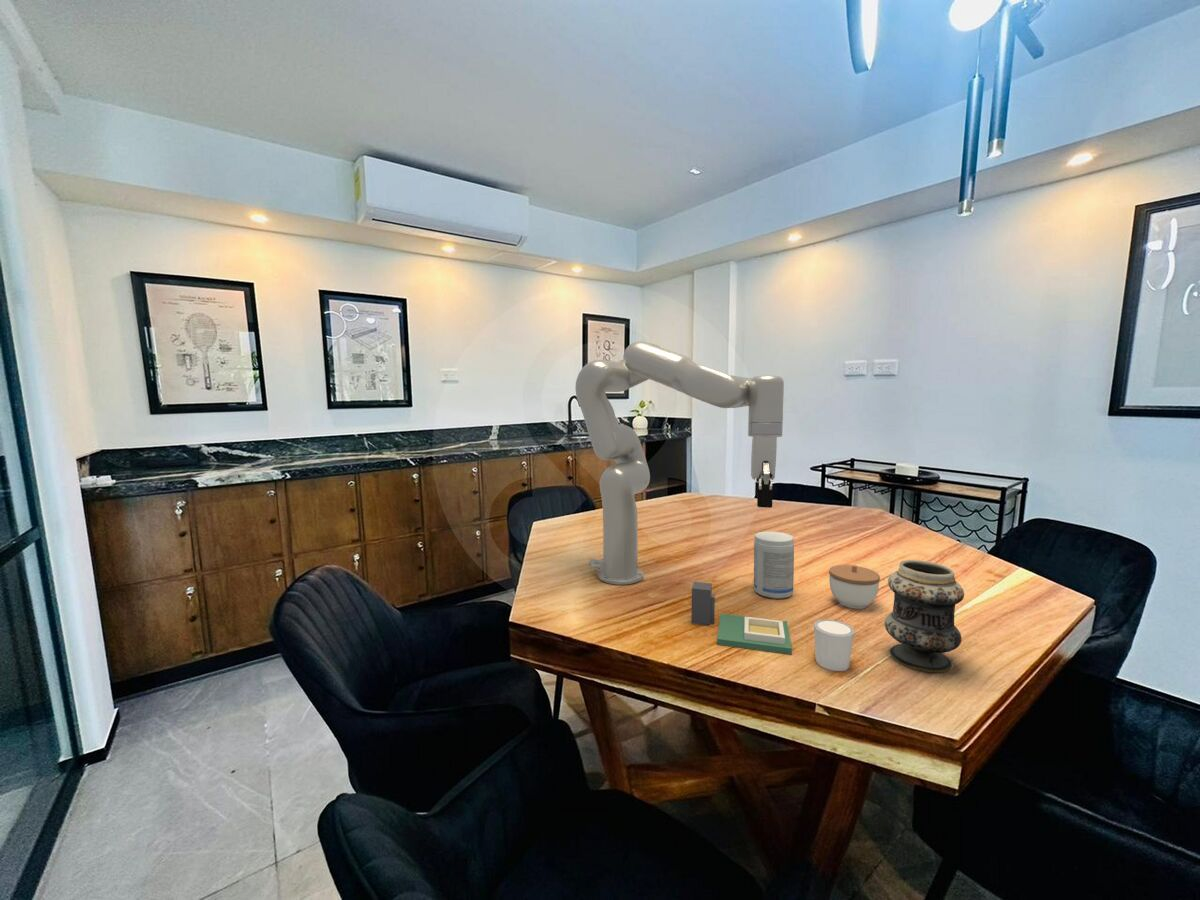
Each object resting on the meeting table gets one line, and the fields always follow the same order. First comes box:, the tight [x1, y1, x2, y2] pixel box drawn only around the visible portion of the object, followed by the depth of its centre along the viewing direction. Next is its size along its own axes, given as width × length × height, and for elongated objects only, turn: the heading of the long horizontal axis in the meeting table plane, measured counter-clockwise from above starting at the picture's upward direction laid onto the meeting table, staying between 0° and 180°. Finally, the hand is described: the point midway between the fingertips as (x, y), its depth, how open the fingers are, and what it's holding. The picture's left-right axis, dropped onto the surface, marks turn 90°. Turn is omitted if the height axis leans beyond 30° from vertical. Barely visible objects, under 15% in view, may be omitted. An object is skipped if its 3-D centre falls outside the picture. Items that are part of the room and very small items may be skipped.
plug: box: [690, 581, 716, 626], centre depth 108 cm, size 5×4×8 cm
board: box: [716, 613, 793, 655], centre depth 101 cm, size 14×12×3 cm
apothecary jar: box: [883, 559, 965, 674], centre depth 91 cm, size 12×12×18 cm
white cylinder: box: [813, 618, 855, 672], centre depth 90 cm, size 7×7×7 cm
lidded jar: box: [828, 564, 881, 610], centre depth 116 cm, size 11×11×9 cm
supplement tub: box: [753, 531, 795, 600], centre depth 123 cm, size 10×10×15 cm
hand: (763, 502), depth 114 cm, fingers open, 9 cm apart
